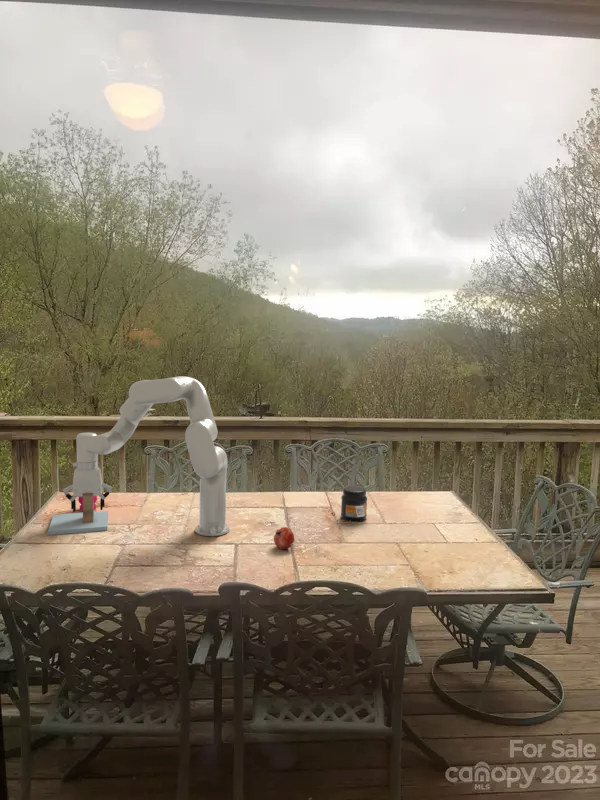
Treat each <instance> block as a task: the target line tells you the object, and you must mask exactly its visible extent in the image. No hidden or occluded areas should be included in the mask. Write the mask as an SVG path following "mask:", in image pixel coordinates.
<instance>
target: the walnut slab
mask: <svg viewBox="0 0 600 800" xmlns="http://www.w3.org/2000/svg"><path fill="white" fill-rule="evenodd" d="M94 512H95V510H94V496H93V493H84V494H83V511H82V513H83V523H89V522H93V519H94Z"/></svg>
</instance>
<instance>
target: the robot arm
mask: <svg viewBox="0 0 600 800" xmlns="http://www.w3.org/2000/svg"><path fill="white" fill-rule="evenodd" d="M181 400H184V401H185V403H186V411H187V414H188V417H189V421H190V423H189V425H188V426H187V428H186V429H185V432H184V439H185V440H184V441H185V444H186V448H187V452H188V455H189V458H190V462H191V465H192V469H193V470H194V472H195V474H197V476H199V477H200V479H199V525H197V526H195V528H194V529H195V530H194V531H195V533H196V534H197V535H199V536H205V537H219V536H223V535H225V534H227V533H229V532H230V531H231V530H230V526H229V525H228V524H226V512H227V511H226V506H227V505H226V504H227V492H226V491H227V471H228V464H229V463H228V460H229V459H228V455H227V453H226V451H225V450H224V448H222V447H220V446H217V445H215V443H214V441H215V440H216V439H217V438H218V432H219V431H218V427H217V423H216V420H215V417H214V414H213V410H212V407H211V403H210V400H209V396H208V394H207V391H206V389H205V387H204V385H203V383H201V382H200V381H199V380H198V379H195V378H193V377H191V376H185V375H180V376H179V375H178V376H177V375H176V376H172V377H167V378H160V379H159V378H158V379H144V380H137V381H136V382H134V383H132V384H131V386H130V388H129V391H128V398H127V399H126V400H125V401H124V402H123V404H122V405H121V406H120V407H119V414H120V417H119V419H118V421H117V422H116V423H115V425H114V426H113V427H112V428H111V430H109V431H107V432H104V433H102V434H97V433H95V432H80V433H78V434H77V435H76V439H75V440H76V442H75V443H76V461H75V462H72V467H75V468H76V469H74V472H73V479H72V484H71V485H69V486H67V487H65V488H63V489H62V492H63V493H64V496H65V497H66V499H68V500H69V501H70V506H71V507H70V509H71V510H72V512H73V513H76V509H77V505H76V504H77V503H76V502H77V501H76V499H77V498H79V497H83V494H84V493H93V496H97V497H99V498H100V499H99V502H100V505H99V507H100V510H99V511H103V508H105V499H106V498H107V497H108V496H109V495H110V493H111V492H112V489H113V486H111V485H108V484H106V483H104V482H103V478H102V471H101V468H100V467H99V455H102V456H103V455H109V454H111V453H113V452H115V451H117V450H120V449H121V448H122V447H123V446H124V445H126V443H127V441H128V440H129V439H130V438H131V437H132V435H133V434H134V433H135V431H136V429H137V428H138V425H139V423H140V422H141V420H142V419H143V417H145V415H146V414H147V413H148V412H149V410H151V408H152V407H153V406H154V405H155V404H156V405H157V404H164V403H166V404H167V403H174V402H177V401H181ZM103 488H104V489H106V491H105V493H103ZM71 490H72V494H71V493H70V492H69V491H71Z"/></svg>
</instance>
